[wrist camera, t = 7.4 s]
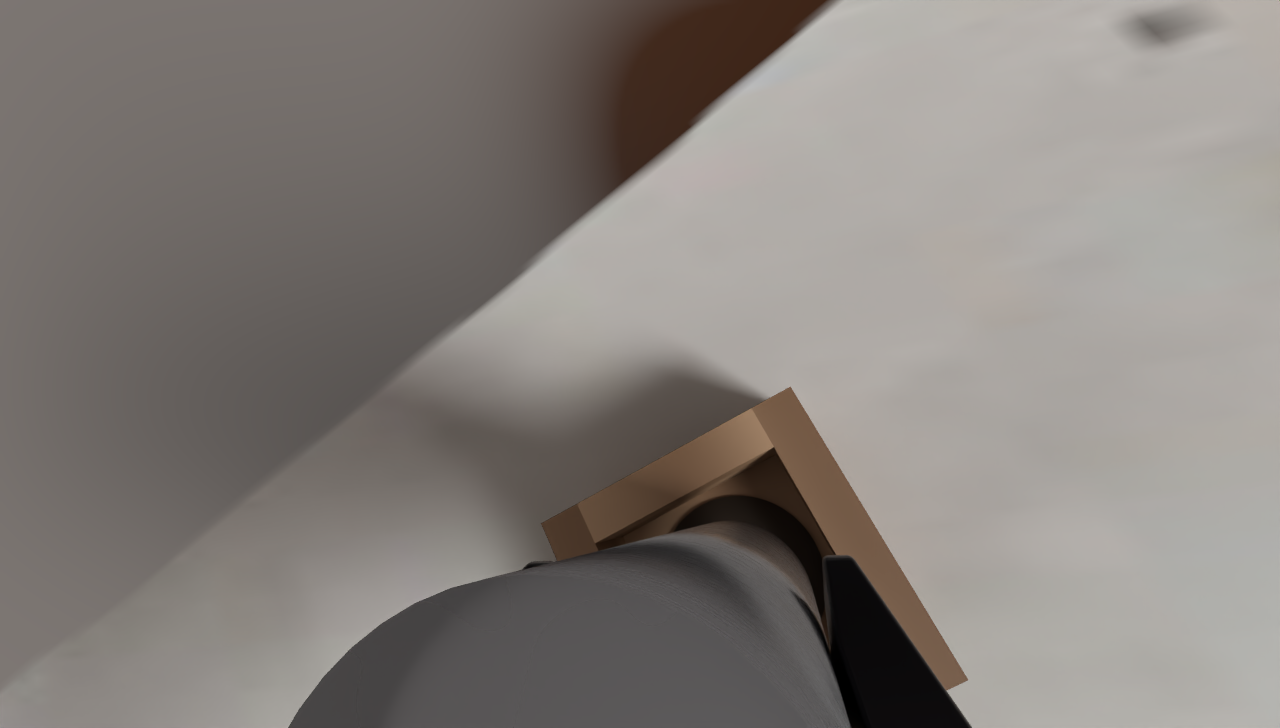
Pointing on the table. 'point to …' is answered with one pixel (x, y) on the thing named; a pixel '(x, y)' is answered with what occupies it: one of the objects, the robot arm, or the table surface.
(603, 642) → the pin
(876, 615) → the robot arm
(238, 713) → the table surface
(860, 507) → the socket block
